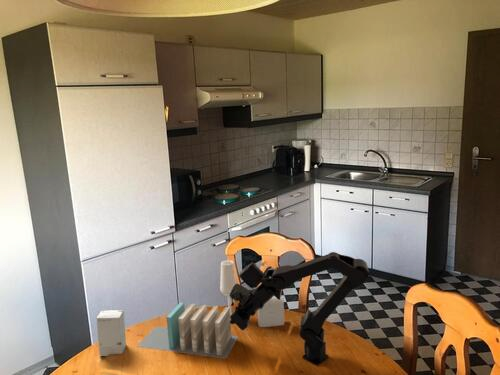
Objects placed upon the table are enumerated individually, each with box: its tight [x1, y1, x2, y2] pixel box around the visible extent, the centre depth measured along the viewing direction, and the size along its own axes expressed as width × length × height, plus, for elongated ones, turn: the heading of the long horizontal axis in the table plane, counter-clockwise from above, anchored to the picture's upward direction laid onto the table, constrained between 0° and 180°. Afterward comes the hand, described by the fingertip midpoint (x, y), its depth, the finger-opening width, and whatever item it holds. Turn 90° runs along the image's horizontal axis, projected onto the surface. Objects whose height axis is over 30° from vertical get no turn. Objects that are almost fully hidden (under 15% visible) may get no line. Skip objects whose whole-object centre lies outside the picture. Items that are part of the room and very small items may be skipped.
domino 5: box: [215, 306, 233, 355], centre depth 145 cm, size 2×11×12 cm, turn 164°
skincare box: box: [96, 309, 127, 358], centre depth 146 cm, size 8×6×15 cm
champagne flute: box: [219, 259, 237, 316], centre depth 164 cm, size 7×7×24 cm
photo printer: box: [256, 296, 285, 328], centre depth 159 cm, size 10×4×12 cm, turn 96°
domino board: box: [136, 325, 239, 359], centre depth 151 cm, size 34×14×1 cm, turn 74°
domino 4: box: [202, 305, 220, 353], centre depth 147 cm, size 2×11×12 cm, turn 164°
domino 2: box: [178, 303, 197, 350], centre depth 149 cm, size 2×11×12 cm, turn 164°
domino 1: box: [165, 302, 186, 349], centre depth 150 cm, size 2×11×12 cm, turn 164°
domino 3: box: [190, 304, 208, 352], centre depth 148 cm, size 2×11×12 cm, turn 164°
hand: (230, 322), depth 144 cm, fingers closed
